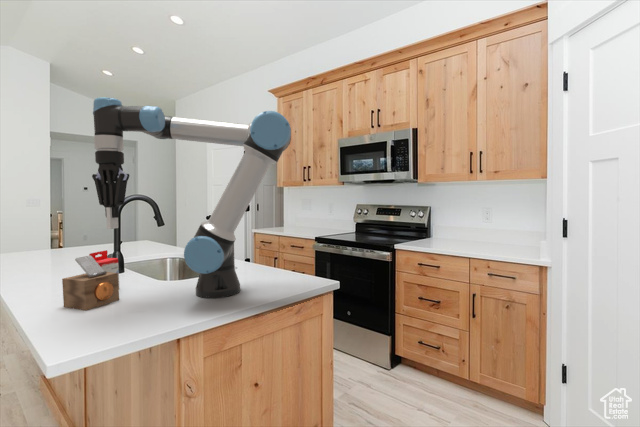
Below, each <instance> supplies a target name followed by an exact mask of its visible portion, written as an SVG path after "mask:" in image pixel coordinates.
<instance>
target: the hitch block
mask: <svg viewBox="0 0 640 427" xmlns="http://www.w3.org/2000/svg"><path fill="white" fill-rule="evenodd" d="M61 280H62V281H61V282H62V296H63V297H62V300H63V308H67V307H68V308H67V309H73V308H74V309H76V310H80V309H81V311H88V310H92V309H95V308H99V307H102V306H104V305H108V304H110V303H113V302H116V301H119V300H120V284H119V285H118V273H112V272H107V273H106V274H105V275H100V276H96V277H92V278H88V275H87V274H86V273H82V274H77V275H73V276H67V277H64V278H62V279H61ZM101 282H109V283H111V284H112V286H113V294H112V296H111V297H110V298H109V299H107V300H98V299H97V298H96V297H95V294H94V291H95V288H96V286H97V285H98V284H99V283H101Z"/></svg>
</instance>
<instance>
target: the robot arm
mask: <svg viewBox="0 0 640 427" xmlns="http://www.w3.org/2000/svg"><path fill="white" fill-rule="evenodd" d="M92 106H93V108H92V109H93V111H92V115H93V126H94V127H93V129H94V130H93V131H94V139H93V140H94V149H95V150H96V151H95V152H94V154H95V155H94V156H95V158H94V160H95V161H94V162H95V163H96V164H97V165H98V169H97V172H96V173H95V174H94V173H93V174H91V177H92V179H93V181H94V184H95V185H94V186H95V190H96V194H97V198H98V203H99V205H100V206H104V208H105V209H104V210H105V218H106V229H108V230H111V229H119V216H120V215H119V214H120V210H119V208H120V206H123V205H124V204H125V201H126V200H125V199H126V192H127V185H128V180H129V179H130V173H125V171H124V169H123V167H122V165H124V164H125V155H124V152H123V151H124V132H138V133H139V132H141V133H142V134H143V133H144V134H146V135H149V136H151V137H153V138H155V139H158V140H167V139H168V140H181V141H189V142H198V143H208V144H217V145H224V146H225V145H227V146H236V147H243V149H244V153H243V155H242V157H241V158H240V161H239V163H238V165H237V167H236V169H235V170H234V172H233V174H232V176H231V177H230V179H229V181H228V183H227V185H226V186H225V189H224V191H222V192H223V193H222V194H221V196H220V198H219V199H218V202H217V204H216V206H215V207H214V210H213V211H212V213H211V215H210V217H209V219H208V220H206V221H203V222H201V223H200V225H199V226H198V229H197V230H196V232H195V235H194V236H193V238H191V239H190V240H188V242H187V243H186V245H185V247H184V251H183V258H184V259H183V260H184V261H185V264H186V265H187V267H188V268H189V269H190V270H192V271H193V272H195V273H197V274H198V279H197V282H196V283H197V284H196V285H195V295H196V296H198V297H200V298H206V299H216V298H217V299H218V298H226V297H230V296H234V295H236V294H238V293H240V292H241V283H240V280H239V278H238V274H237V273H236V269H235V268H236V267H235V265H236V264H235V241H236V235H235V231H236V230H237V228H238V225H239V224H240V222H241V220H242V218H243V217H244V215H245V212H246V211H247V209H248V207H249V205H250V204H251V201H252V200H253V198H254V196H255V194H256V192H257V190H258V188H259V187H260V184H261V183H262V181H263V180H264V177H265V175H266V174H267V172H268V170H269V168H270V166H273V165H276V164H278V162H279V160H280V158H281V156H282V154H283V153H284V151H286V150H287V149H288V147H289V145H290V144H291V140H292V129H291V125H290V122H289V121H288V119H287V118H286V117H285V116H284V115H283V114H281V113H280V112H279V111H274V110H265V111H262V112H260V113H258V114H257V115H256V116H255V117H254V118H253V120H252V121H251V122H250V123H248V124H246V123H245V124H244V123H238V122H237V123H236V122H228V121H227V122H225V121H219V120H218V121H217V120H207V119H200V118H199V119H197V118H191V117H180V116H170V115H165V114H164V112H163V109H162V108H160V107H159V106H153V105H152V106H151V105H123V103H122V101H121V100H119V99H118V98H113V97H107V96H106V97H105V96H101V97H96V98H94V100H93V104H92Z"/></svg>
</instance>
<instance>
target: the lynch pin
mask: <svg viewBox="0 0 640 427" xmlns="http://www.w3.org/2000/svg"><path fill="white" fill-rule="evenodd" d="M94 294H95V297H96V298H97V299H98V300H107V299H109V298H110V297H111V296H112V294H113V286H112V284H111V283H109V282H101V283H99V284H98V285H97V286H96V288H95V291H94Z"/></svg>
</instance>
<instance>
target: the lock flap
mask: <svg viewBox="0 0 640 427" xmlns="http://www.w3.org/2000/svg"><path fill="white" fill-rule="evenodd" d="M74 259H75V260H74V261H75V262H76V263H77V264H78V265H79V267H81V269H82V270H83V271H84V272H85V273H86V274H87V275H88V278H92V277H96V276H100V275H105V274H106V273H107V272H106V271H104V270H103V269H102V268H101V267H100V265H99V264H98V263H97V262H96V261H95V259H94V258H93V257H92V256H91V255H90V256H89V255H85V256H79V257H75V258H74ZM85 273H84V274H85Z"/></svg>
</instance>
